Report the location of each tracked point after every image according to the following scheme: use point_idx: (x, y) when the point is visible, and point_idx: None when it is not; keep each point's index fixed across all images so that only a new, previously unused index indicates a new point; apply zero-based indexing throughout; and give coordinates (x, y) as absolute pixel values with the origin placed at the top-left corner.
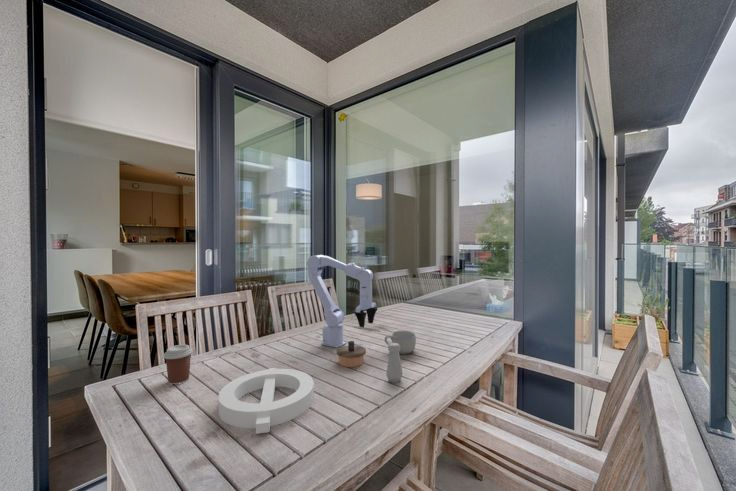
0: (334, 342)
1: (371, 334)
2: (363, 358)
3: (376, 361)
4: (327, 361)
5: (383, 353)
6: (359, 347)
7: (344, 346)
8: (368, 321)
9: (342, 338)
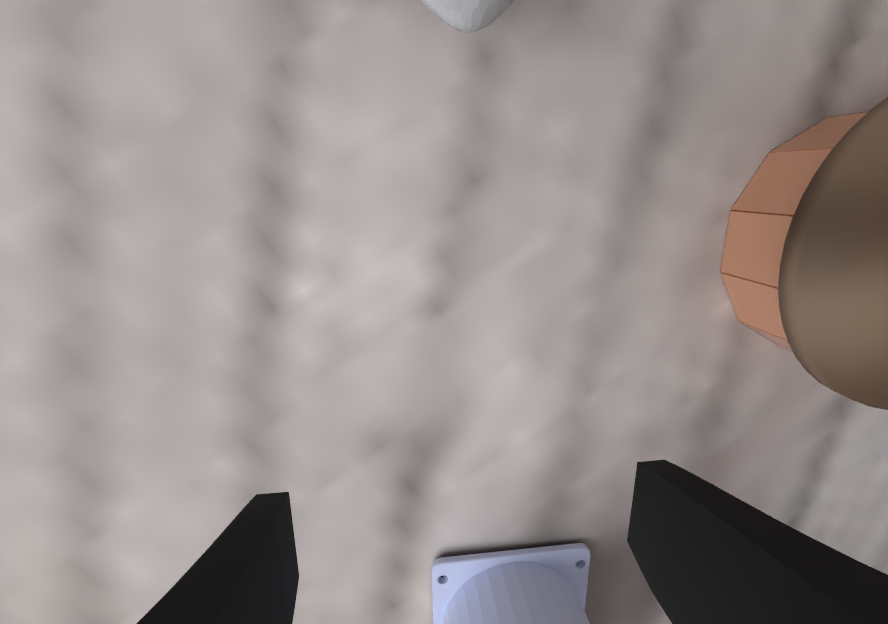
0: (582, 609)
1: (9, 547)
2: (791, 149)
3: (742, 13)
4: (868, 408)
5: (497, 66)
6: (849, 225)
7: (861, 393)
8: (290, 606)
9: (504, 613)
